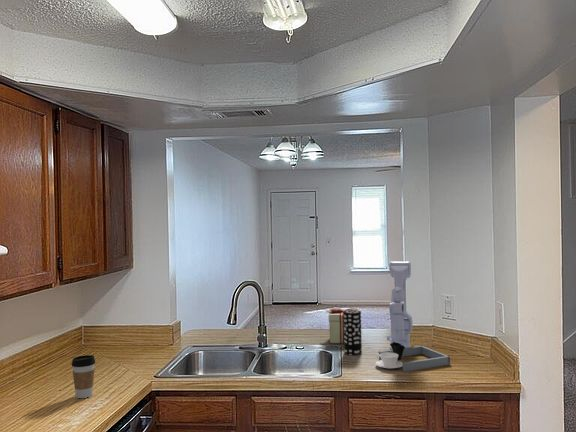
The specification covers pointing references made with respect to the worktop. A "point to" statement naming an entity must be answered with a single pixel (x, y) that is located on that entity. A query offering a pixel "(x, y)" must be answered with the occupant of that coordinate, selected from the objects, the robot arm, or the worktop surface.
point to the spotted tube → (352, 332)
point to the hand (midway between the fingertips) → (398, 359)
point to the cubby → (435, 360)
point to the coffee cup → (83, 375)
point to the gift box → (337, 324)
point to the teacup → (389, 360)
